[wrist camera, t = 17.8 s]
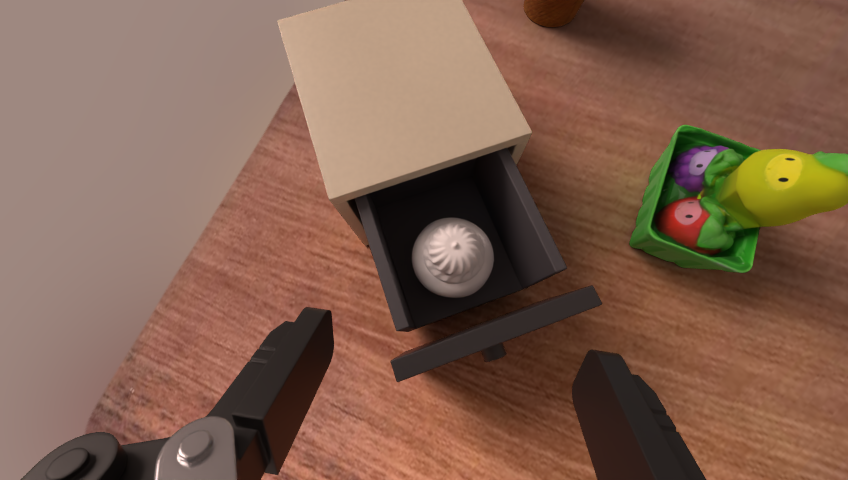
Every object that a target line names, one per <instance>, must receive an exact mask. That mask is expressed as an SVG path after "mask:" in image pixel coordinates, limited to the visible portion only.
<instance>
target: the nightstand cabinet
mask: <svg viewBox="0 0 848 480" xmlns="http://www.w3.org/2000/svg"><path fill="white" fill-rule="evenodd" d="M278 25H279V29H280V32H281V35H282V39H283V42H284V45H285V49H286V52H287V56H288V60H289V63H290V66H291V70H292V73H293V76H294V80H295V84H296V87H297V91H298V94H299V98H300V101H301V104H302V108H303V111H304V115H305V118H306V122H307V125H308V129H309V132H310V136H311V139H312V142H313V146H314V149H315V153H316V156H317V160H318V163H319V167H320V170H321V174H322V177H323V180H324V184H325V187H326V191H327V194H328V198H329V200H330V201H331V203H332V204H333V205H334V207H335V208H336V209H337V210H338V212H339V213H340V214H341V216H342V217H343V218H344V219H345V221H346V222H347V223H348V225H349V226H350V227H351V229H352V230H353V231H354V232H355V234H356V235H357V236H358V238H359V239H360V240H361V241H362V243H363V244H364V245H365V246H366V245H369V243H368V239H367V236H366V233H365V230H364V227H363V224H362V220H361V217H360V214H359V211H358V208H357V205H356V201H355V198H357V197H360V196H363V195H366V194H369V193H372V192H375V191H378V190H381V189H384V188H387V187H390V186H393V185H396V184H399V183H402V182H405V181H408V180H411V179H414V178H417V177H420V176H423V175H426V174H429V173H432V172H435V171H438V170H441V169H444V168H447V167H450V166H453V165H456V164H459V163H462V162H465V161H468V160H471V159H474V158H477V157H480V156H483V155H486V154H489V153H492V152H495V151H498V150H501V149H504V148H508V150H509V152H510V154H511V156H512V158H513V160H514V162H515V164H516V165H517V163H518V161H519V159H520V157H521V155H522V153H523V151H524V149H525V147H526V145H527V143H528V140H529V139H530V136H531V134H532V131H531V129H530V127H529V125H528V123H527V121H526V120H525V118H524V116H523V114H522V112H521V110H520V108H519V106H518V105H517V103H516V101H515V99H514V97H513V95H512V93H511V91H510V90H509V88H508V86H507V84H506V82H505V80H504V78H503V76H502V75H501V73H500V71H499V69H498V67H497V65H496V63H495V61H494V60H493V58H492V56H491V54H490V52H489V50H488V48H487V46H486V45H485V43H484V41H483V39H482V37H481V35H480V33H479V31H478V30H477V28H476V26H475V24H474V22H473V20H472V18H471V16H470V15H469V13H468V11H467V9H466V7H465V5H464V3H463V1H462V0H347V1H344V2H340V3H337V4H333V5H330V6H326V7H323V8H319V9H316V10H312V11H309V12H305V13H302V14H298V15H295V16H291V17H288V18H285V19H281V20H278Z"/></svg>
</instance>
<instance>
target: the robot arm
mask: <svg viewBox="0 0 848 480" xmlns="http://www.w3.org/2000/svg"><path fill="white" fill-rule="evenodd" d="M333 350H334V338H333V326H332V314H331V311H330V310H324V309H317V308H311V307H306V308H304V309H303V311H302V312H301V313H300V315H299V316H298V318H297V319H296V321H295V322H288V321H285V322H284V323H283V324H281V325H280V326H278V327H277V328H276V329H274V330H273V331H271V332H270V333H269V335H268V336H267V337H266V339H265V340H264V341H263V343H262V344H261V345H260V348H259V349H257V351H256V352H255V353H254V355H253V356H252V357H251V360H250V362H248V363H247V364H246V365H245V367H244V368H243V369H242V371H241V372H240V373H239V375H238V376H237V377H236V379H235V380H234V381H233V383H232V384H231V385H230V387H229V388H228V389H227V391H226V392H225V393H224V395H223V396H222V397H221V399H220V400H219V401H218V403H217V404H216V405H215V407H214V408H213V409H212V410H211V412H210V413H209V414H208V415H207V416H206V417H204V418H201V419H198V420H195V421H193V422H191V423H189V424H187V425H185V426H184V427H182V428H181V429H180V430H178V431H177V432H176V433H175V434H174V435H172V437H168V438H164V439H158V440H152V441H146V442H140V443H133V444H127V445H120V444H119V442H118V441H117V439H116V438H115V437H114V436H113V435H111V434H110V433H105V432H96V433H90V434H86V435H83V436H80V437H77V438H75V439H73V440H71V441H68V442H66V443H65V444H63V445H61V446H59V447H58V448H57V449H55V450H53V451H52V452H50V453H49V454H48V455H47V456H45V457H44V458H43V459H42V460H41V461H39V462H38V463H37V464H36V465H35V466H34V467H33V468H32V469H31V470H30V471H29V472H28V473H27V474H26V475H25V476H24V477H23V478H22V479H21V480H261V478H262V476H263V474H264V473H270V474H275V475H278V474H279V472H280V469H281V467H282V465H283V463H284V461H285V459H286V457H287V454H288V452H289V450H290V448H291V446H292V444H293V442H294V439H295V437H296V435H297V433H298V431H299V429H300V427H301V424H302V422H303V420H304V418H305V416H306V414H307V412H308V409H309V407H310V405H311V403H312V401H313V399H314V397H315V394H316V392H317V390H318V388H319V386H320V384H321V382H322V379H323V377H324V375H325V373H326V371H327V369H328V367H329V364H330V362H331V359H332V355H333ZM572 400H573V404H574V407H575V411H576V414H577V417H578V420H579V423H580V426H581V429H582V432H583V436H584V439H585V442H586V445H587V448H588V451H589V454H590V457H591V461H592V464H593V467H594V470H595V473H596V476H597V479H598V480H706V478H705V477H704V475H703V473H702V472H701V470H700V468H699V466H698V465H697V463H696V461H695V460H694V458H693V456H692V454H691V453H690V451H689V449H688V448H687V446H686V444H685V443H684V441H683V439H682V437H681V436H680V434H679V432H676V427H675V425H674V424H673V422H672V420H671V419H670V417H669V415H666V410H665V408H664V407H663V405H662V403H661V402H660V400H659V398H658V396H657V395H656V393H655V392H654V391H653V390H652V389H651V388H650V387H649V386H648V385H647V384H646V383H645V382H644V381H643V380H642V379H641V378H640V377H639V376H638V375H633V374H631V372H630V370H629V368H628V367H627V365H626V363H625V361H624V359H623V358H622V357H621V355H619V354H617V353H610V352H603V351H597V350H590V351H588V353H587V354H586V356H585V359H584V361H583V363H582V365H581V367H580V369H579V371H578V373H577V376H576V378H575V380H574V382H573V386H572Z"/></svg>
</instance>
